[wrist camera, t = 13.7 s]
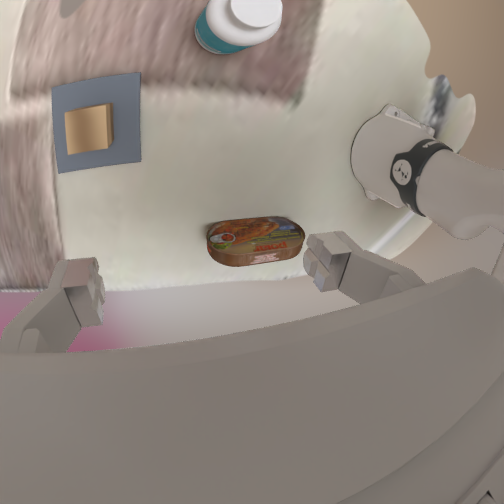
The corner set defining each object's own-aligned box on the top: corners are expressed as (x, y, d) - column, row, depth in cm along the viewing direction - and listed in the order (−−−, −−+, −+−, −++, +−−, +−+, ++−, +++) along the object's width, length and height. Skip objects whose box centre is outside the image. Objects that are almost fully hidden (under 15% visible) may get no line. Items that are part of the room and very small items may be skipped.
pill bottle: (241, 61, 30) (283, 53, 20) (186, 48, 27) (202, 28, 16) (257, 15, 26) (306, -9, 16) (203, 0, 23) (229, -37, 13)
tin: (291, 214, 47) (315, 241, 40) (289, 230, 48) (311, 258, 42) (201, 222, 42) (212, 253, 36) (202, 239, 44) (212, 272, 37)
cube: (113, 102, 27) (106, 105, 23) (114, 139, 30) (107, 148, 26) (76, 108, 26) (64, 112, 22) (78, 145, 29) (67, 154, 25)
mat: (140, 72, 27) (140, 72, 26) (141, 160, 34) (140, 161, 33) (53, 87, 23) (51, 87, 23) (60, 171, 30) (58, 173, 29)
